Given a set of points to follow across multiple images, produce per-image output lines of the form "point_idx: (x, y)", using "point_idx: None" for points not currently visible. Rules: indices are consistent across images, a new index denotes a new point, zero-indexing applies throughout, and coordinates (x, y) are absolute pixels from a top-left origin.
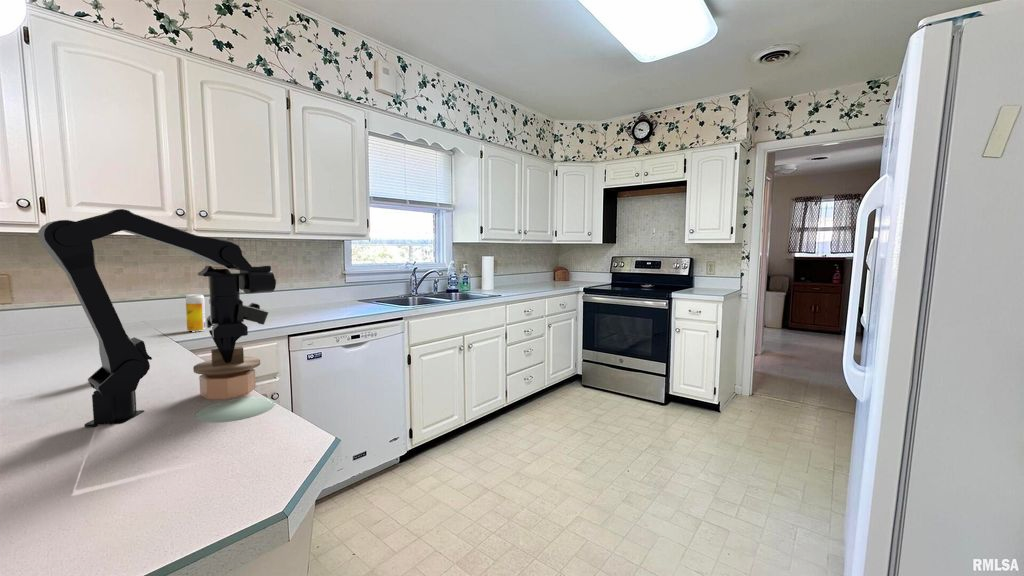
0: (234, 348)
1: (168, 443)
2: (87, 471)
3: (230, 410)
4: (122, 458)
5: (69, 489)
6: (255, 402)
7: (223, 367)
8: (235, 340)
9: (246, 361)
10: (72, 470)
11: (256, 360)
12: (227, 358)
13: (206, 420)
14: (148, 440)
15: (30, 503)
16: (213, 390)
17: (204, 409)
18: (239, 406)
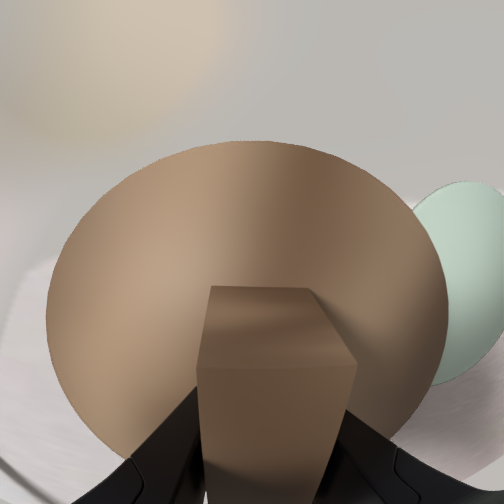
0: (298, 441)
1: (492, 397)
2: (479, 450)
3: (463, 311)
4: (482, 433)
5: (499, 444)
6: (455, 236)
7: (356, 406)
8: (484, 498)
9: (280, 262)
10: (463, 463)
11: (297, 177)
12: None
13: (474, 360)
14: (457, 427)
15: (493, 457)
16: None
17: None
18: (454, 286)
